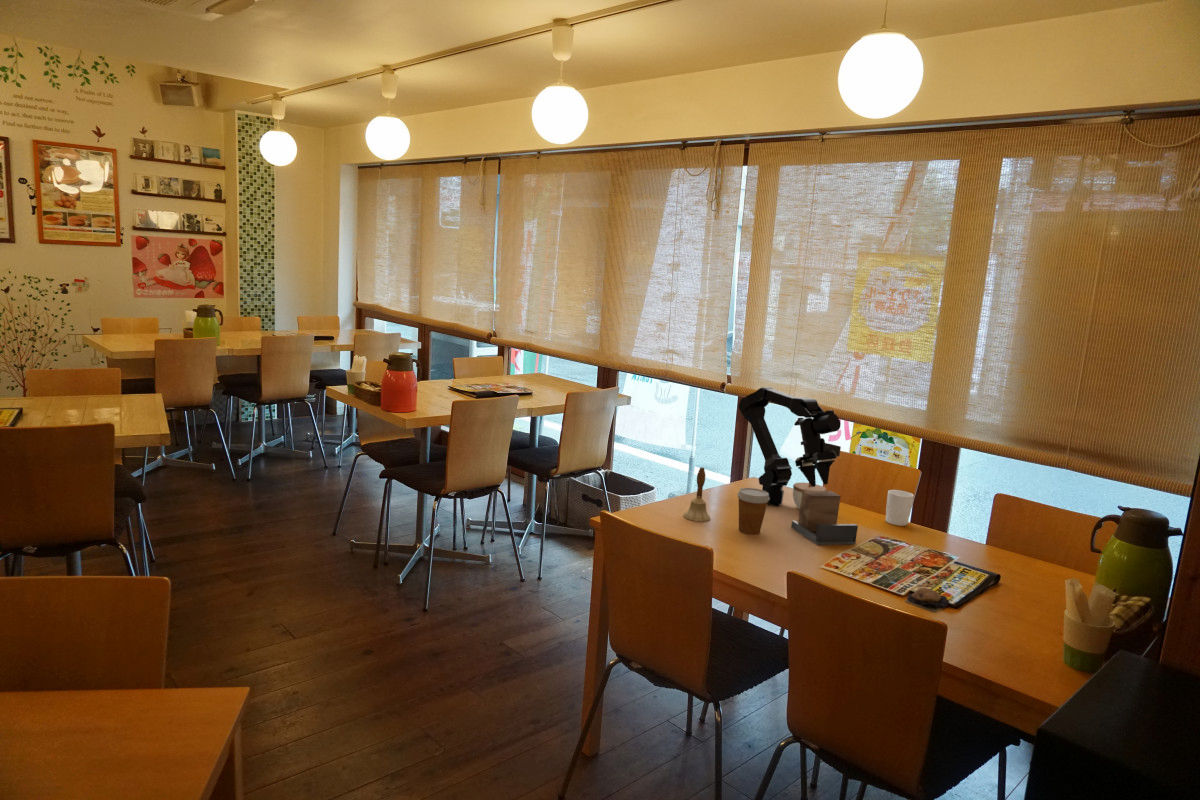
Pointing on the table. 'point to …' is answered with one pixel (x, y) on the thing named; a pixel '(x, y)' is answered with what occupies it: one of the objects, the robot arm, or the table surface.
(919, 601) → the bread roll
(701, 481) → the hand bell
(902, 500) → the white cup
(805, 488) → the lidded jar
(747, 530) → the disposable coffee cup
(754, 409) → the robot arm
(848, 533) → the grey open tray
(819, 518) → the walnut slider
